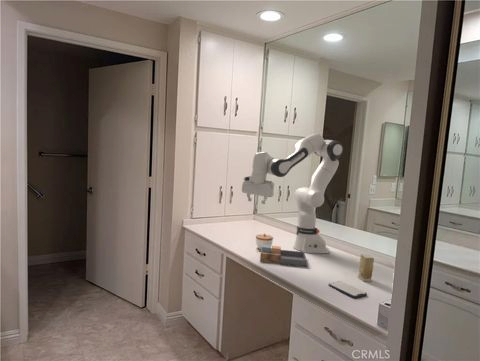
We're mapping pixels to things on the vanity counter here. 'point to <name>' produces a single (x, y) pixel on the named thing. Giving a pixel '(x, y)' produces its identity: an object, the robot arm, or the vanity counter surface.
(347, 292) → the phone case
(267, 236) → the lidded jar
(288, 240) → the vanity counter surface
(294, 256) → the tray
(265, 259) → the cardboard box
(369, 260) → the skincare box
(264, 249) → the tile
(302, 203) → the robot arm
